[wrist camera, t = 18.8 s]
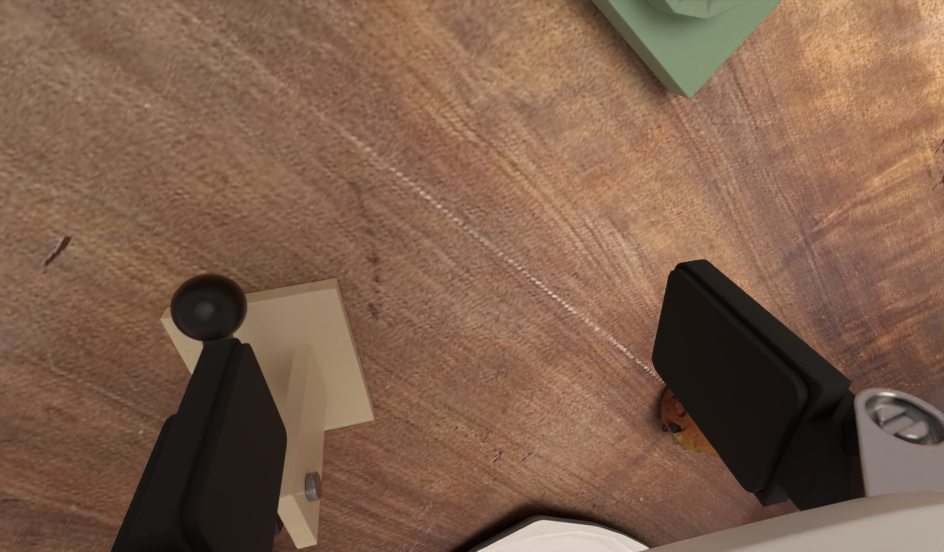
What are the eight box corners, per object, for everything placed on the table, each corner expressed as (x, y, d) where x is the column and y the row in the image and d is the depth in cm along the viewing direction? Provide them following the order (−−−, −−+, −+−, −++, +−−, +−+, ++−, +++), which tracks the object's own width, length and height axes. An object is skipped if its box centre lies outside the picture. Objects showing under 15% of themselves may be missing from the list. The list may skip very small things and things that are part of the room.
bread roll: (718, 383, 49) (803, 426, 43) (656, 453, 46) (739, 510, 40) (713, 315, 44) (811, 353, 38) (642, 389, 40) (737, 444, 34)
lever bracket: (166, 307, 28) (67, 483, 19) (336, 277, 30) (327, 428, 20) (237, 436, 35) (192, 616, 25) (373, 408, 36) (380, 569, 27)
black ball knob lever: (181, 276, 24) (147, 285, 21) (248, 265, 24) (225, 272, 21) (241, 512, 26) (219, 553, 23) (302, 498, 26) (289, 537, 23)
